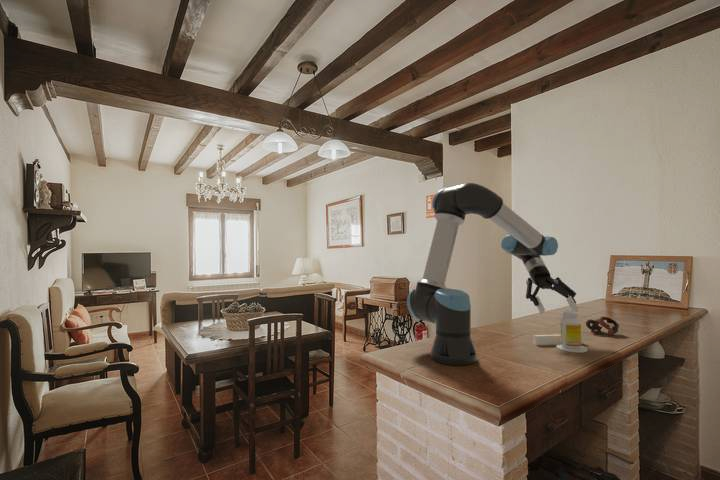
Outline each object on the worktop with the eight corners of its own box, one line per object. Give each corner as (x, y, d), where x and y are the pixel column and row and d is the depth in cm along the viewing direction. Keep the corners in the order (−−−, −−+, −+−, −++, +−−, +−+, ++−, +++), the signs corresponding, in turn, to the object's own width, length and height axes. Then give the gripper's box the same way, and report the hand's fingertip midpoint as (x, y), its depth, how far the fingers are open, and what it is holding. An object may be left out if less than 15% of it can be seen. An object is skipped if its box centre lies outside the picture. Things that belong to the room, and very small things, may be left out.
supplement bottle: (585, 348, 131) (585, 313, 131) (570, 350, 129) (570, 314, 130) (571, 343, 138) (570, 310, 138) (556, 345, 136) (555, 311, 136)
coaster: (567, 353, 128) (567, 351, 128) (550, 345, 138) (550, 343, 138) (594, 352, 129) (594, 350, 129) (575, 344, 139) (575, 342, 139)
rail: (535, 345, 138) (535, 336, 138) (533, 344, 140) (533, 335, 140) (582, 343, 140) (582, 334, 140) (579, 342, 141) (579, 333, 141)
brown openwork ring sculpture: (605, 331, 160) (614, 317, 157) (615, 346, 152) (625, 331, 148) (578, 324, 161) (587, 310, 157) (587, 339, 152) (596, 324, 149)
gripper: (561, 275, 159) (585, 316, 144) (506, 276, 158) (525, 317, 143) (569, 264, 154) (594, 305, 139) (512, 265, 153) (532, 306, 137)
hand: (559, 311), depth 141 cm, fingers open, 13 cm apart
